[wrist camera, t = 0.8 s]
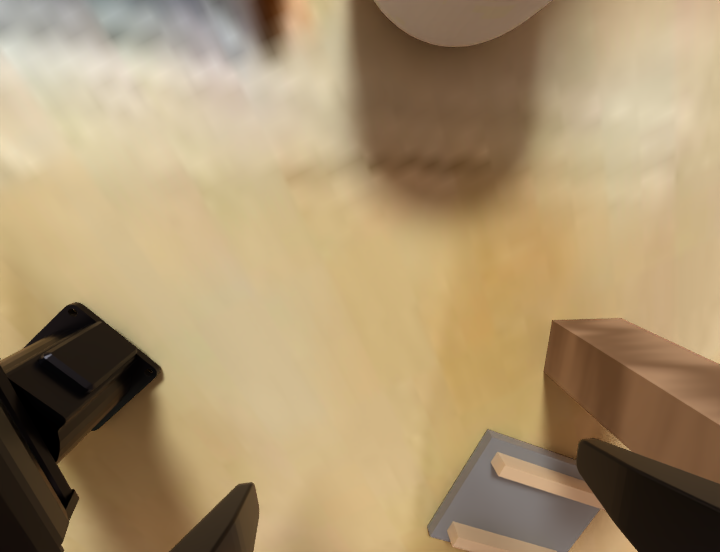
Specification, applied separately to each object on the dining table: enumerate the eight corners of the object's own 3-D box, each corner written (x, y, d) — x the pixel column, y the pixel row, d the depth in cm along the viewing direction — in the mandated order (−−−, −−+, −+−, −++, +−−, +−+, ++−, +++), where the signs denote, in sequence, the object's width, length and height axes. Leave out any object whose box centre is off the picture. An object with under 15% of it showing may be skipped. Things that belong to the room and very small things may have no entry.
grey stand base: (427, 526, 27) (434, 553, 25) (487, 429, 25) (500, 450, 23) (547, 559, 29) (562, 586, 27) (612, 472, 27) (634, 495, 25)
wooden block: (543, 372, 24) (775, 582, 11) (552, 320, 23) (819, 487, 10) (609, 369, 24) (905, 570, 12) (621, 318, 23) (961, 477, 11)
